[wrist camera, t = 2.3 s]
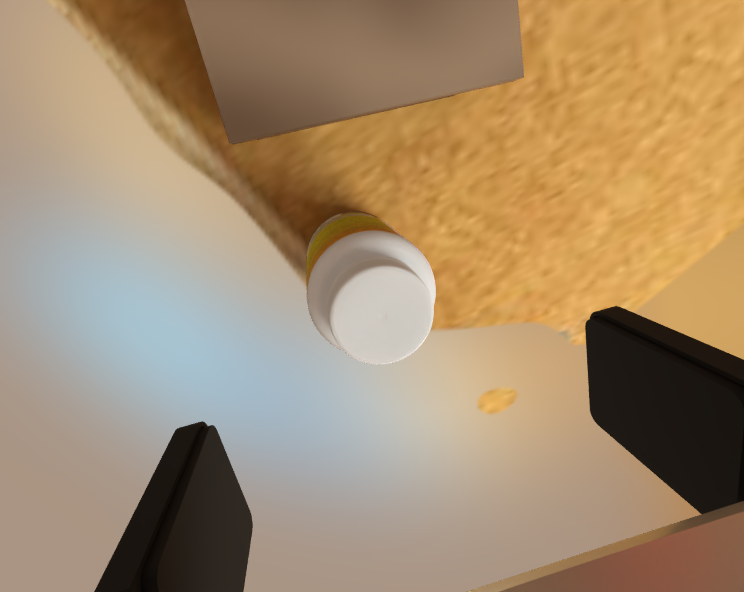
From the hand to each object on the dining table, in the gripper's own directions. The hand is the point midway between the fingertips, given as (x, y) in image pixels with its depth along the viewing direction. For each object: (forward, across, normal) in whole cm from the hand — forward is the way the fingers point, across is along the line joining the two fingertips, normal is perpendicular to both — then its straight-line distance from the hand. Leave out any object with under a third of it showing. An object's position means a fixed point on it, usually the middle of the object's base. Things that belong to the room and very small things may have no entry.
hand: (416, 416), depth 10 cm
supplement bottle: (+16, 0, -1) cm, 16 cm away
